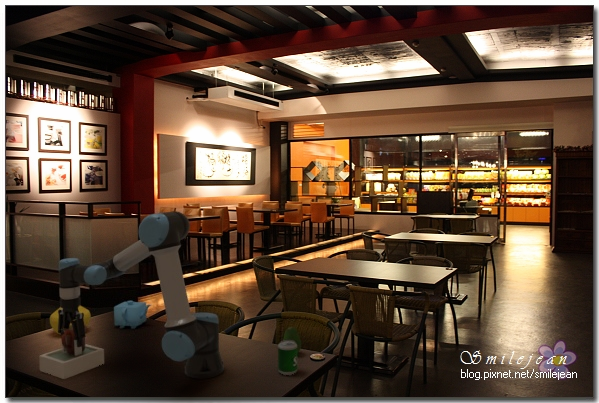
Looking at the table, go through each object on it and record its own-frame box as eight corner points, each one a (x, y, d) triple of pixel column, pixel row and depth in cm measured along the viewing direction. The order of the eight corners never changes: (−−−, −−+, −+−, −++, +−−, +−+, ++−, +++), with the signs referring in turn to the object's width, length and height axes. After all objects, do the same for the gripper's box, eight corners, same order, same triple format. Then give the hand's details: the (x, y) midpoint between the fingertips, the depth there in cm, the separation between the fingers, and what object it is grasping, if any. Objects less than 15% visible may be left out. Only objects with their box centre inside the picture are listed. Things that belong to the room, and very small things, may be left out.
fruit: (285, 350, 220) (285, 324, 219) (302, 352, 218) (302, 325, 218) (280, 357, 212) (280, 329, 212) (299, 358, 211) (299, 330, 210)
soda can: (290, 377, 191) (290, 347, 190) (274, 373, 195) (274, 343, 194) (301, 371, 197) (300, 341, 197) (285, 367, 201) (284, 338, 201)
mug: (73, 347, 209) (72, 323, 209) (91, 348, 207) (90, 324, 207) (53, 358, 198) (52, 332, 197) (73, 359, 196) (72, 333, 195)
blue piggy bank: (111, 329, 251) (111, 304, 251) (127, 320, 267) (126, 296, 266) (145, 331, 248) (144, 305, 248) (159, 322, 264) (158, 298, 263)
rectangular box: (104, 363, 207) (103, 349, 206) (63, 379, 191) (63, 363, 191) (80, 356, 215) (79, 342, 215) (39, 370, 200) (39, 355, 199)
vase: (58, 327, 255) (57, 290, 254) (95, 326, 257) (94, 289, 256) (44, 339, 237) (42, 300, 236) (84, 338, 239) (83, 298, 238)
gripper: (94, 298, 199) (96, 354, 201) (63, 292, 210) (65, 345, 211) (77, 302, 193) (79, 360, 194) (46, 295, 204) (48, 351, 205)
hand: (72, 352), depth 203 cm, fingers closed on mug, 7 cm apart
